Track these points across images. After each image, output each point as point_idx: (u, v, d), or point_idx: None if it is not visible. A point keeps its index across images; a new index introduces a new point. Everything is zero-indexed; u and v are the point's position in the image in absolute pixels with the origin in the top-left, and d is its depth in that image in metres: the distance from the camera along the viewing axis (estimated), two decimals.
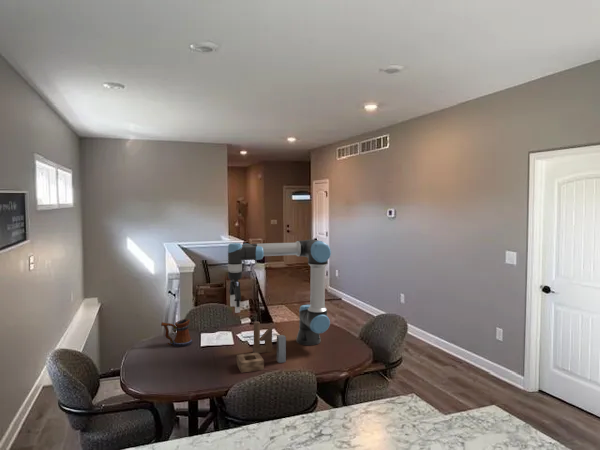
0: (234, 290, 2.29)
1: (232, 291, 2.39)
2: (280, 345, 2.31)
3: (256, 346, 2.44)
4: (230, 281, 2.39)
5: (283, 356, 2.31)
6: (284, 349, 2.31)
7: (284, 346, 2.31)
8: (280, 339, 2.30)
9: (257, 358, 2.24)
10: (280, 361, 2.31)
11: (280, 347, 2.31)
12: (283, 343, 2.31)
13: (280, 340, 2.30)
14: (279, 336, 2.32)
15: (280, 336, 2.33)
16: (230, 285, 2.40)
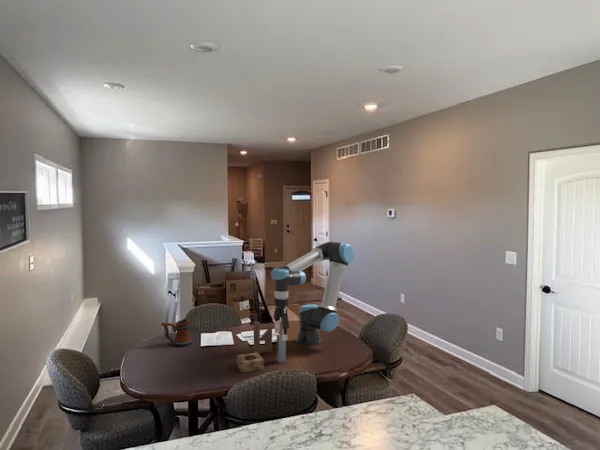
0: (281, 317, 2.27)
1: (277, 317, 2.37)
2: (280, 345, 2.31)
3: (256, 346, 2.44)
4: (275, 307, 2.37)
5: (283, 356, 2.31)
6: (284, 349, 2.31)
7: (284, 346, 2.31)
8: (280, 339, 2.30)
9: (257, 358, 2.24)
10: (280, 361, 2.31)
11: (280, 347, 2.31)
12: (283, 343, 2.31)
13: (280, 340, 2.30)
14: (279, 336, 2.32)
15: (280, 336, 2.33)
16: (275, 311, 2.37)
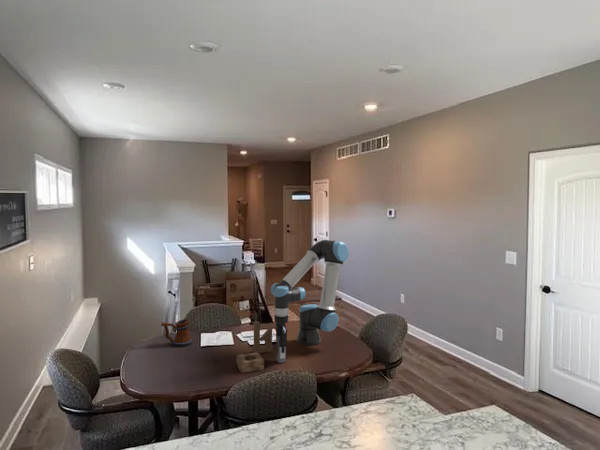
0: (280, 335, 2.30)
1: None
2: (280, 345, 2.31)
3: (256, 346, 2.44)
4: (276, 327, 2.37)
5: None
6: None
7: None
8: None
9: (257, 358, 2.24)
10: (280, 361, 2.31)
11: None
12: None
13: None
14: (279, 336, 2.32)
15: None
16: (276, 331, 2.36)
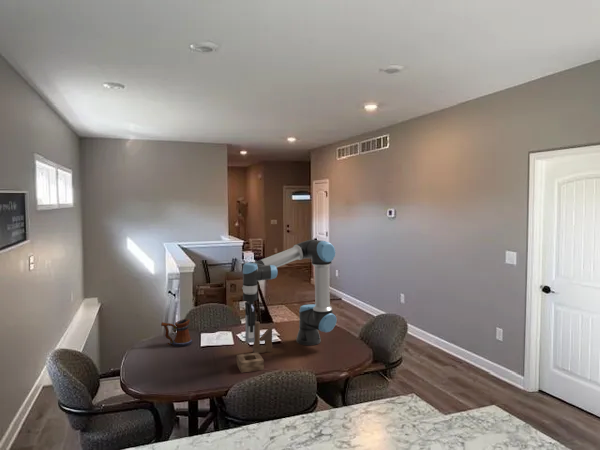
0: None
1: None
2: (248, 324, 2.22)
3: (256, 346, 2.44)
4: (245, 306, 2.28)
5: None
6: None
7: None
8: (248, 318, 2.21)
9: (257, 358, 2.24)
10: (249, 341, 2.22)
11: None
12: None
13: (248, 319, 2.21)
14: (248, 315, 2.23)
15: None
16: (245, 310, 2.27)
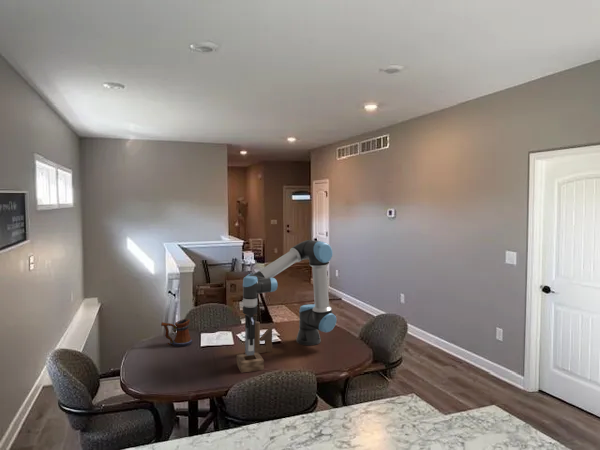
0: (248, 327, 2.21)
1: None
2: (248, 337, 2.22)
3: (256, 346, 2.44)
4: (245, 318, 2.29)
5: None
6: None
7: None
8: (248, 331, 2.22)
9: (257, 358, 2.24)
10: (248, 354, 2.22)
11: None
12: None
13: (248, 332, 2.22)
14: (248, 328, 2.24)
15: None
16: (245, 323, 2.28)
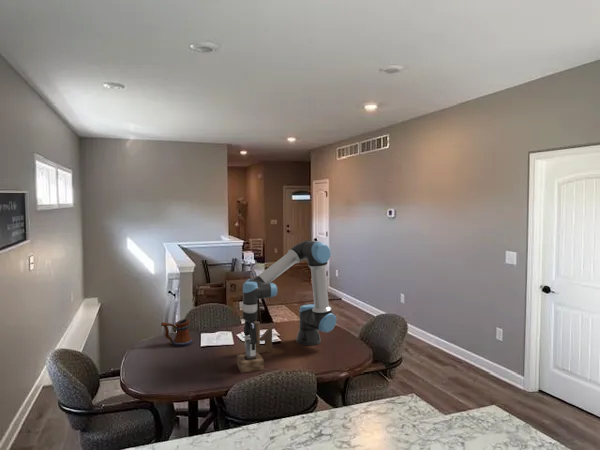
0: (249, 332, 2.20)
1: (247, 332, 2.29)
2: (248, 350, 2.22)
3: (256, 346, 2.44)
4: None
5: None
6: None
7: None
8: (248, 344, 2.22)
9: (257, 358, 2.24)
10: None
11: (248, 352, 2.23)
12: None
13: (248, 345, 2.22)
14: (248, 341, 2.24)
15: (249, 341, 2.25)
16: (245, 325, 2.30)
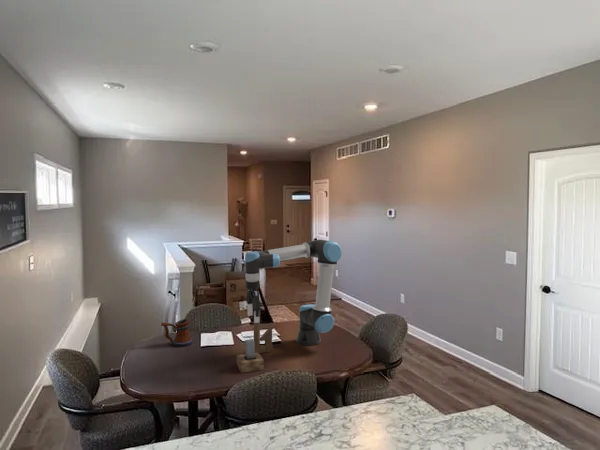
0: (253, 300, 2.26)
1: (249, 300, 2.35)
2: (248, 350, 2.22)
3: (256, 346, 2.44)
4: (247, 290, 2.36)
5: None
6: (253, 354, 2.23)
7: (253, 351, 2.23)
8: (248, 344, 2.22)
9: (257, 358, 2.24)
10: None
11: (248, 352, 2.23)
12: (252, 348, 2.23)
13: (248, 345, 2.22)
14: (248, 341, 2.24)
15: (249, 341, 2.25)
16: (247, 294, 2.36)
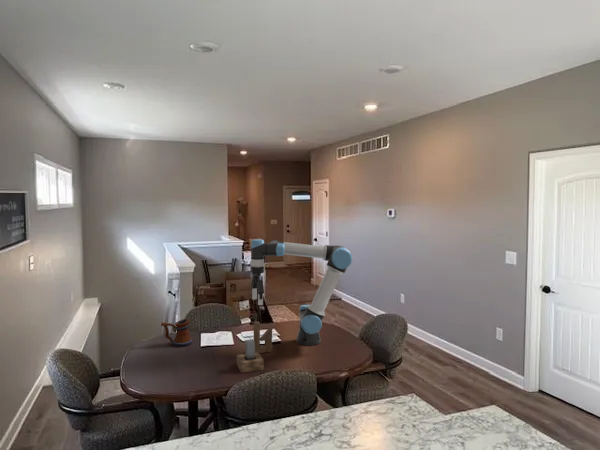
0: (257, 284, 2.43)
1: (254, 285, 2.53)
2: (248, 350, 2.22)
3: (256, 346, 2.44)
4: None
5: None
6: (253, 354, 2.23)
7: (253, 351, 2.23)
8: (248, 344, 2.22)
9: (257, 358, 2.24)
10: None
11: (248, 352, 2.23)
12: (252, 348, 2.23)
13: (248, 345, 2.22)
14: (248, 341, 2.24)
15: (249, 341, 2.25)
16: (252, 279, 2.53)
